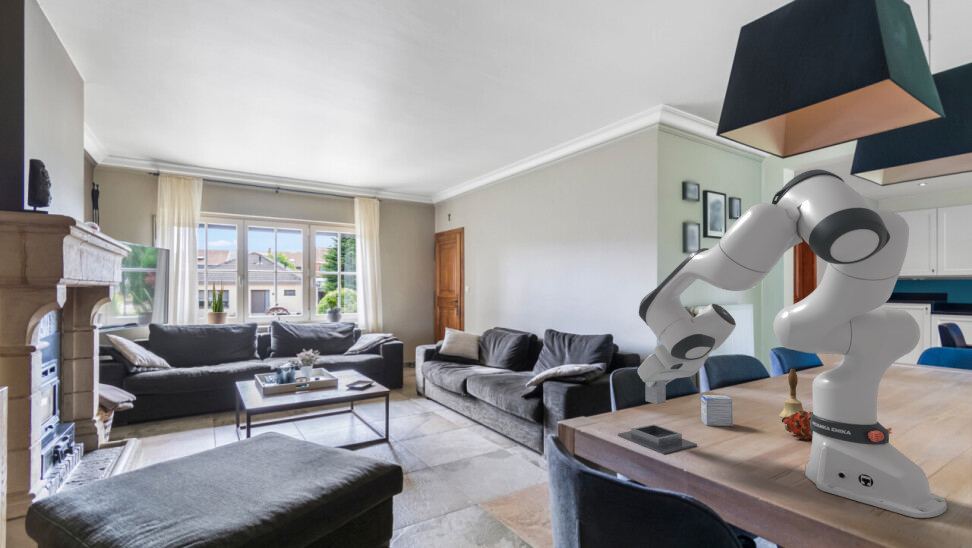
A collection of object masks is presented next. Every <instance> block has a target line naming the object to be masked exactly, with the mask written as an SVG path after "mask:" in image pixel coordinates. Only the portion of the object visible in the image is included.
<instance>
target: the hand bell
mask: <svg viewBox="0 0 972 548" xmlns="http://www.w3.org/2000/svg"><path fill="white" fill-rule="evenodd" d="M787 379H788V380H787V381H788V384H789V391H790V392H789V398H788V399H786V400H785V403H784V406H783V409H782V411H781V412H780V413H779V414H778V417H780V418H782V419H783V418H784V417H787V416H791V415H792V414H795V413H799V410H801V411H804V408H803V403H802V402H801V400H798V399H797V390H796V389H797V385H798V380H799V379H798V374H797V372H796V369H794V368H790V370H789V373H788V375H787Z"/></svg>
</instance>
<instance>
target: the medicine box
mask: <svg viewBox="0 0 972 548" xmlns="http://www.w3.org/2000/svg"><path fill="white" fill-rule="evenodd" d="M700 401H701V403H700V405H701V410H700V411H701V413H700V414H701V416H700V417H701V422H702V423H703V424H704V426H709V427H712V426H713V427H716V426H717V427H733V425H734V424H733V418H734V416H733V399H732V398H731V397H729V396H727V395H722V394H720V395H719V394H717V395H716V394H715V395H713V394H701V395H700Z"/></svg>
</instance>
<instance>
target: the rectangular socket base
mask: <svg viewBox="0 0 972 548" xmlns="http://www.w3.org/2000/svg"><path fill="white" fill-rule="evenodd" d="M617 436H618V437H620V438H623V439H625V440H628V441H630V442H632V443H635V444H637V445H641V446H642V447H645V448H648V449H650V450H652V451H655V452H657V453H660V454H662V455H665V454H670V453H674V452H677V451H682V450H686V449H687V450H688V449H689V448H690V449H691V448H694V447H697V446H698V443H696V442H694V441H693V442H692V441H690V440H688V439H685V438H683V434H682V433H680V432H677V431H674V430H672V429H669V428H667V427H663V426H660V425H657V424H653V423H652V424H649V425H644V426H639V427H634V428H633V427H632V428H631V429H630V431H625V432H624V431H623V432H620V433H618V434H617Z"/></svg>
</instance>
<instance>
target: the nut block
mask: <svg viewBox="0 0 972 548" xmlns="http://www.w3.org/2000/svg"><path fill="white" fill-rule="evenodd" d="M644 383H645V386H644V388H645V392H644V393H645V402H648V403H651V404H655V405H661V404H666V401H667V400H666V397H667V396H666V393H667V392H666V391H667V390H666V388H667V387H666V385H667V384H666V380H659V381H656V382H655V383H656V385H655V386H654V387H648V386H647V384H646V382H644Z"/></svg>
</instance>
